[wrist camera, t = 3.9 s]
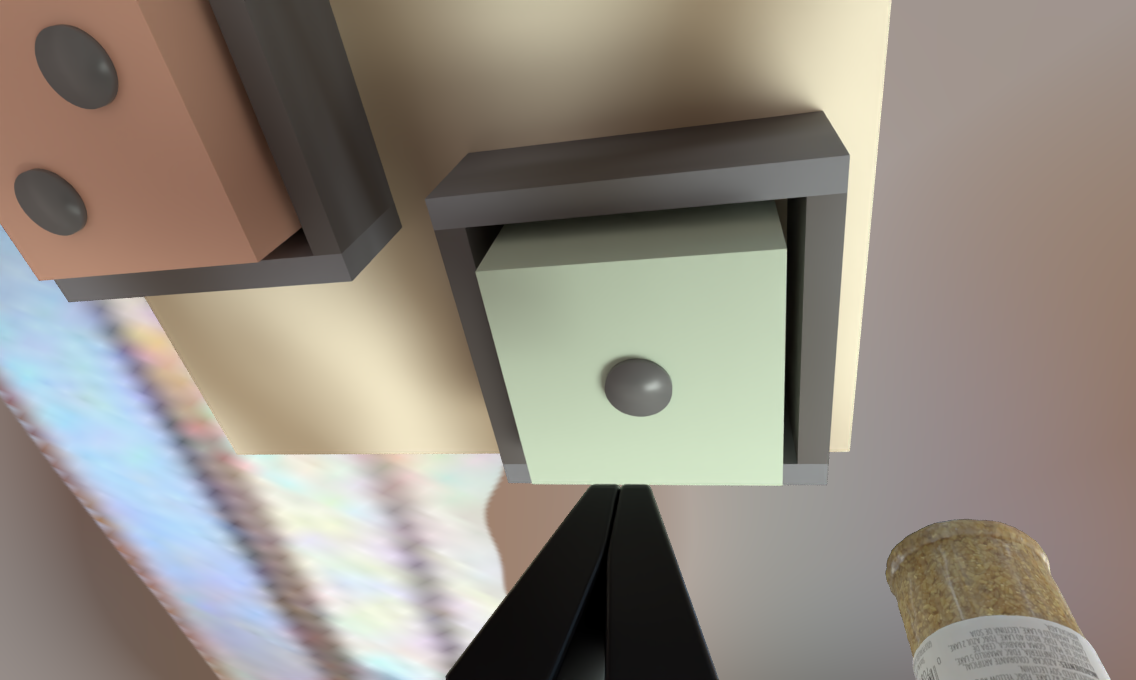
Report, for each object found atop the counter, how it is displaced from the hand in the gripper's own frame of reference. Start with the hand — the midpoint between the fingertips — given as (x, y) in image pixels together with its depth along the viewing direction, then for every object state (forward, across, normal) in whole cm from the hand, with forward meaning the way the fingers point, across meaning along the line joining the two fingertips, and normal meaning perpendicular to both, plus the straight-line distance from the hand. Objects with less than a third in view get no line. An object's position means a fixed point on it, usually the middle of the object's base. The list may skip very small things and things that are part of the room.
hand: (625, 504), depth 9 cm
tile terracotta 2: (+5, +9, -5) cm, 12 cm away
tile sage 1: (+5, 0, 0) cm, 5 cm away
